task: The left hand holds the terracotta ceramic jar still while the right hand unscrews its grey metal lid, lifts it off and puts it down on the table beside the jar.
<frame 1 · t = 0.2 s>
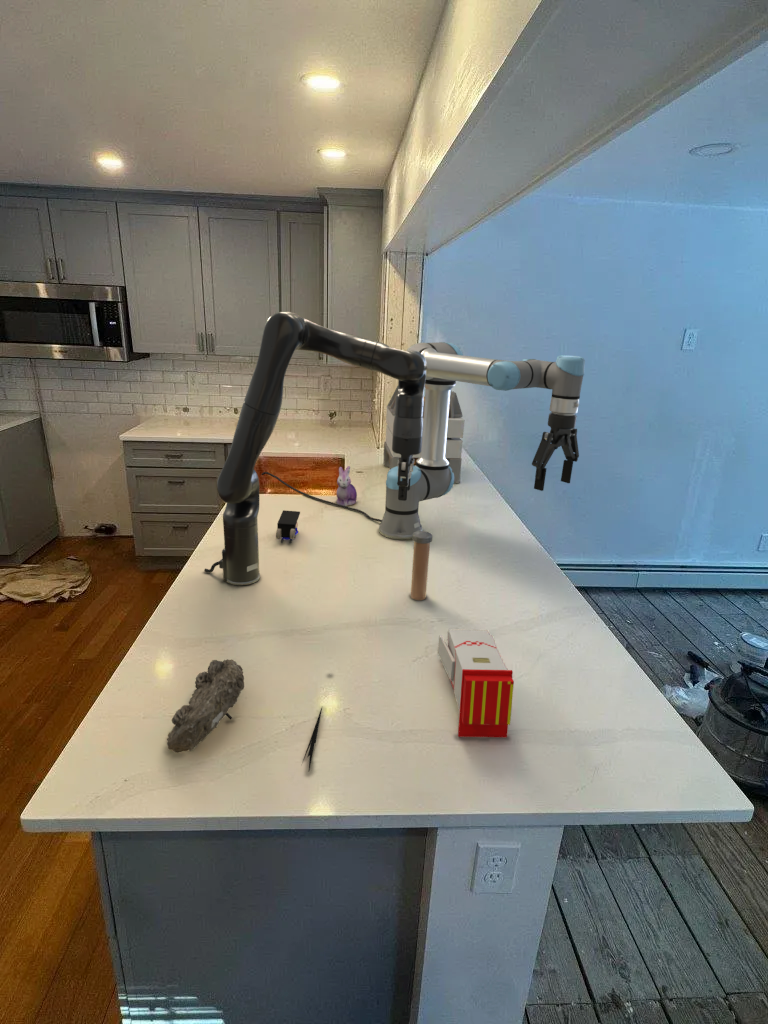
left hand: (404, 494, 148), 29 cm above the counter, tool pointing down, fingers open, 8 cm apart
right hand: (552, 485, 166), 28 cm above the counter, tool pointing down, fingers open, 13 cm apart
lid: (422, 535, 151), point 18 cm above the counter, screwed on, not yet turned
black wheeled rover: (288, 537, 192), on the counter
jar: (418, 596, 157), on the counter
figurine: (346, 503, 229), on the counter
toy: (469, 691, 119), on the counter
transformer: (419, 473, 275), on the counter
feather: (319, 719, 109), on the counter
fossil: (212, 717, 108), on the counter
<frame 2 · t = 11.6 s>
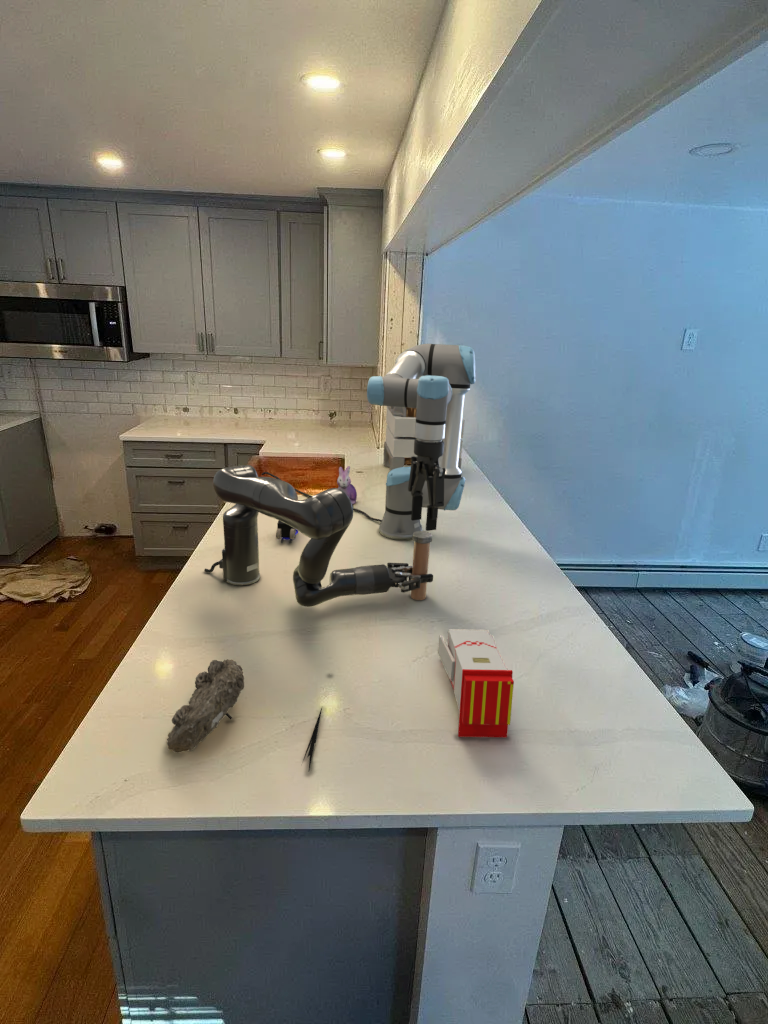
left hand: (428, 573, 156), 7 cm above the counter, tool horizontal, fingers closed on jar, 4 cm apart
right hand: (423, 524, 150), 21 cm above the counter, tool pointing down, fingers open, 7 cm apart
jar: (418, 596, 157), on the counter, touching left hand
everything else where it was.
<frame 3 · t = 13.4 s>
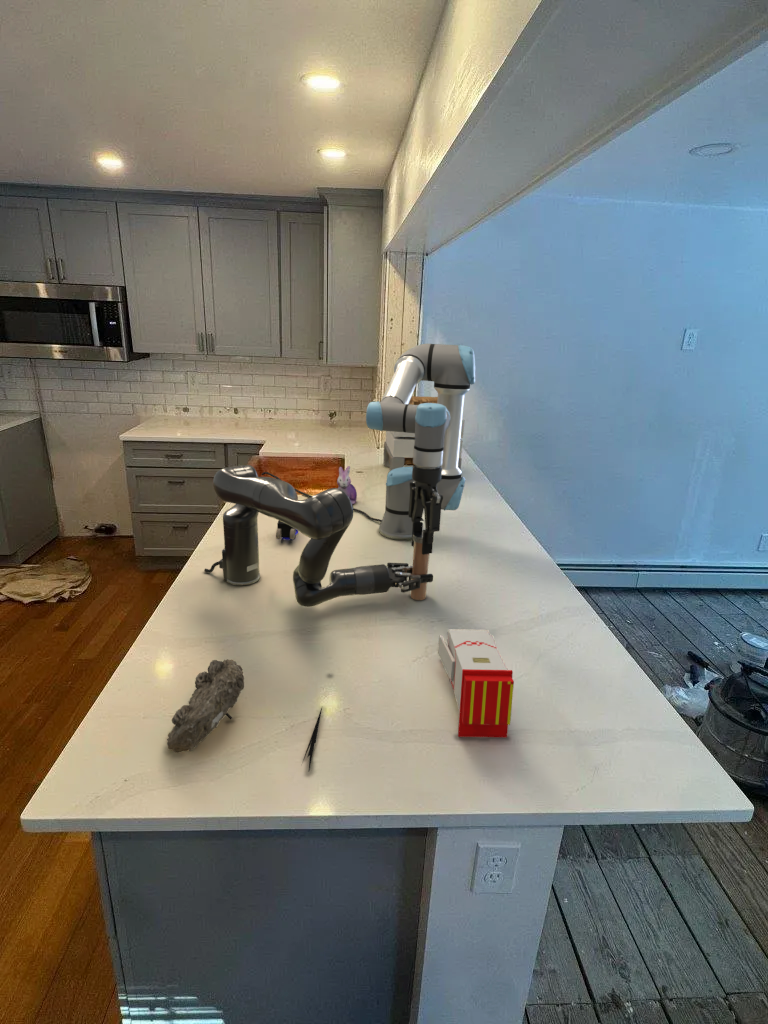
left hand: (428, 573, 156), 7 cm above the counter, tool horizontal, fingers closed on jar, 4 cm apart
right hand: (421, 549, 152), 14 cm above the counter, tool pointing down, fingers closed on lid, 5 cm apart
lid: (422, 535, 151), point 18 cm above the counter, screwed on, not yet turned, touching right hand
jar: (418, 596, 157), on the counter, touching left hand
everything else where it was.
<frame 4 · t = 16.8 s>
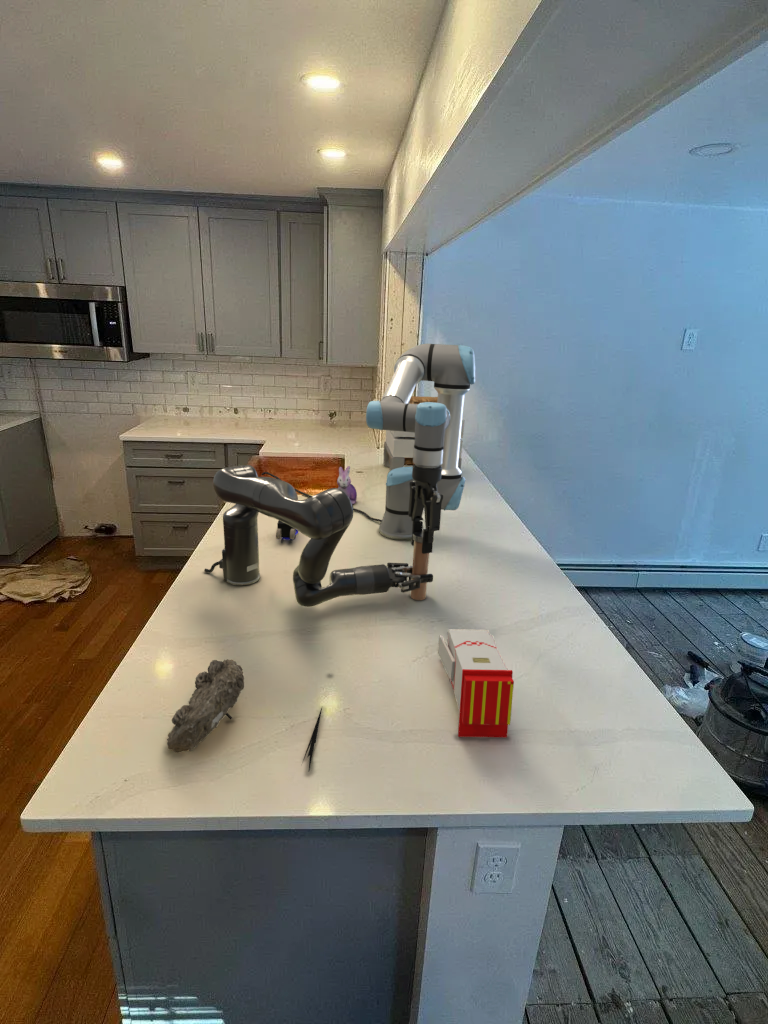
left hand: (428, 573, 156), 7 cm above the counter, tool horizontal, fingers closed on jar, 4 cm apart
right hand: (421, 548, 152), 15 cm above the counter, tool pointing down, fingers closed on lid, 5 cm apart
lid: (422, 534, 151), point 18 cm above the counter, turned 123° so far, risen 0.2 cm, still on its thread, touching right hand
jar: (418, 596, 157), on the counter, touching left hand
everything else where it was.
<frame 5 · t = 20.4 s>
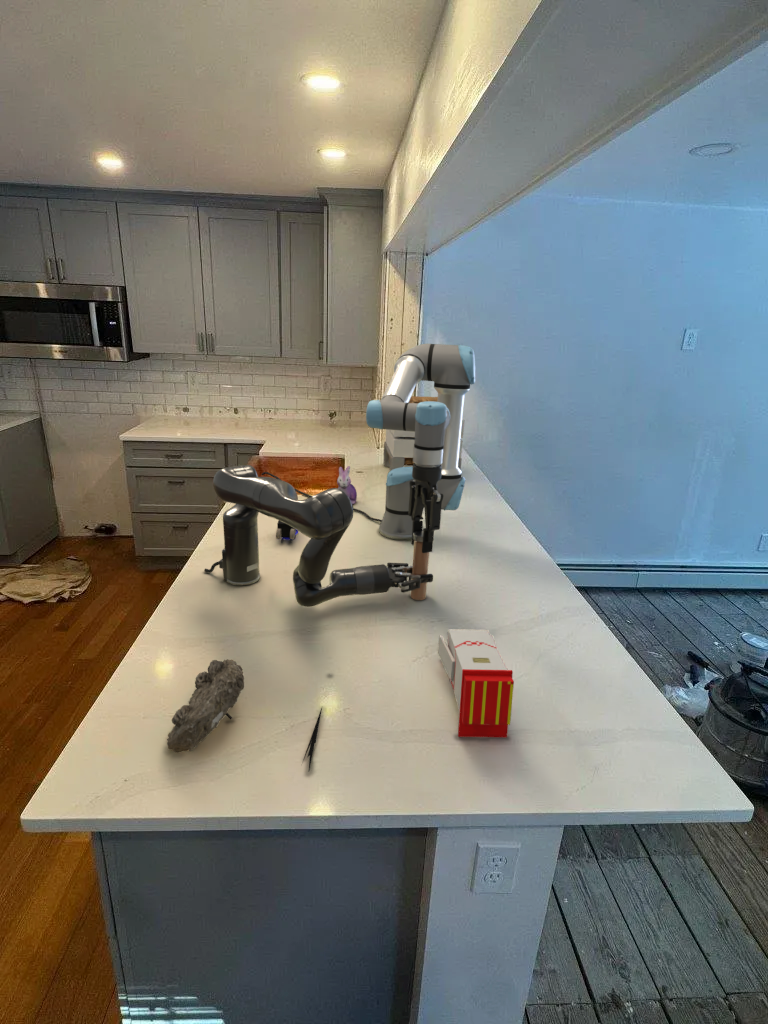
left hand: (428, 573, 156), 7 cm above the counter, tool horizontal, fingers closed on jar, 4 cm apart
right hand: (421, 547, 152), 15 cm above the counter, tool pointing down, fingers closed on lid, 5 cm apart
lid: (422, 534, 151), point 19 cm above the counter, turned 247° so far, risen 0.4 cm, still on its thread, touching right hand
jar: (418, 596, 157), on the counter, touching left hand
everything else where it was.
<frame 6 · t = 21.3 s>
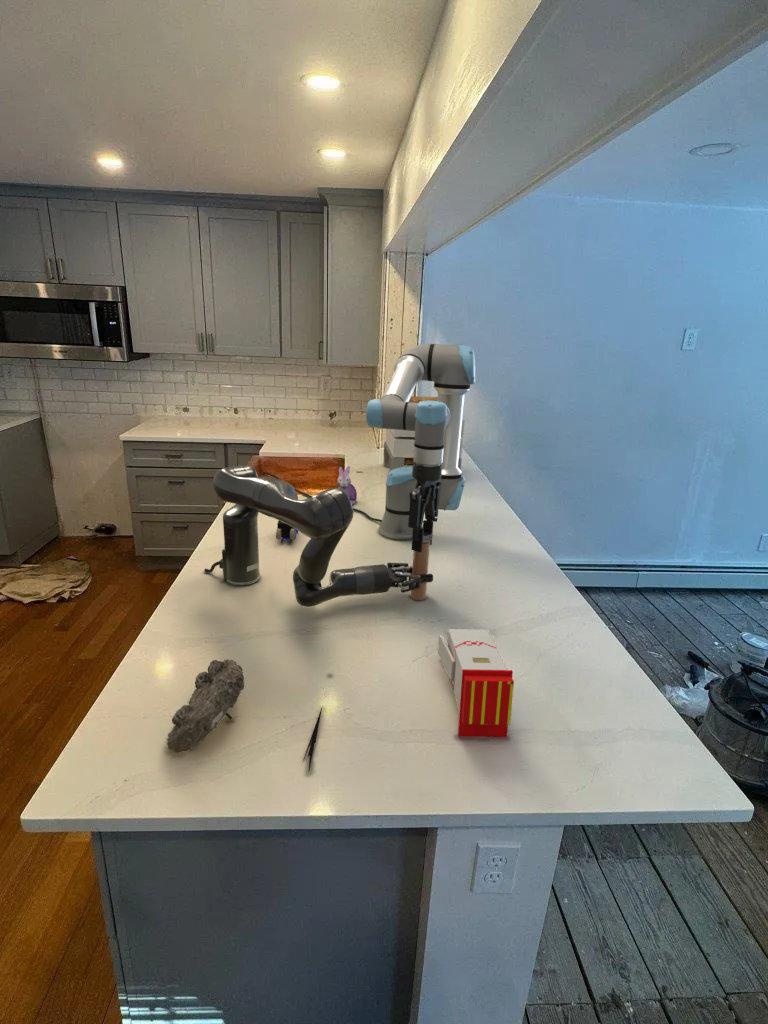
left hand: (428, 573, 156), 7 cm above the counter, tool horizontal, fingers closed on jar, 4 cm apart
right hand: (421, 547, 152), 15 cm above the counter, tool pointing down, fingers closed on lid, 5 cm apart
lid: (422, 533, 151), point 19 cm above the counter, off its thread, touching right hand
jar: (418, 596, 157), on the counter, touching left hand
everything else where it was.
when the right hand's fingers open (0 cm above the counter, at t = 27.6 s): lid drops 3 cm, point 1 cm above the counter.
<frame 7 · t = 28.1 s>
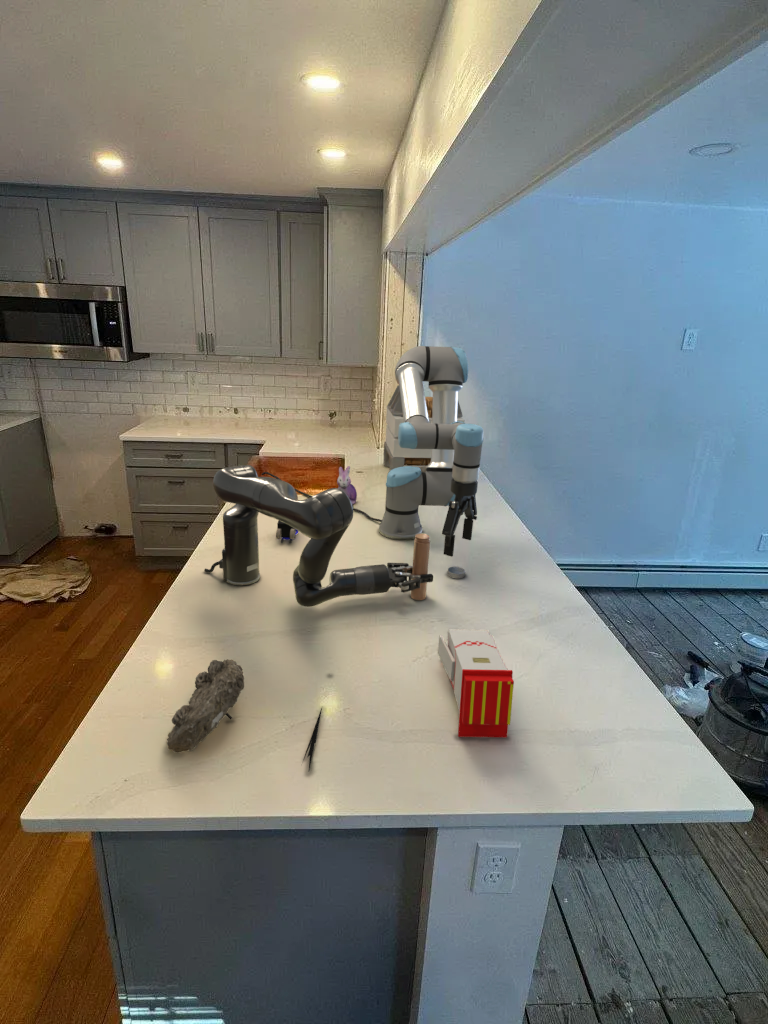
left hand: (428, 573, 156), 7 cm above the counter, tool horizontal, fingers closed on jar, 4 cm apart
right hand: (457, 546, 169), 9 cm above the counter, tool pointing down, fingers open, 13 cm apart
lid: (456, 571, 170), point 1 cm above the counter, off its thread
jar: (418, 596, 157), on the counter, touching left hand
everything else where it was.
when the left hand's fingers open (7 cm above the counter, at t = 28.3 s): jar stays where it is, on the counter.
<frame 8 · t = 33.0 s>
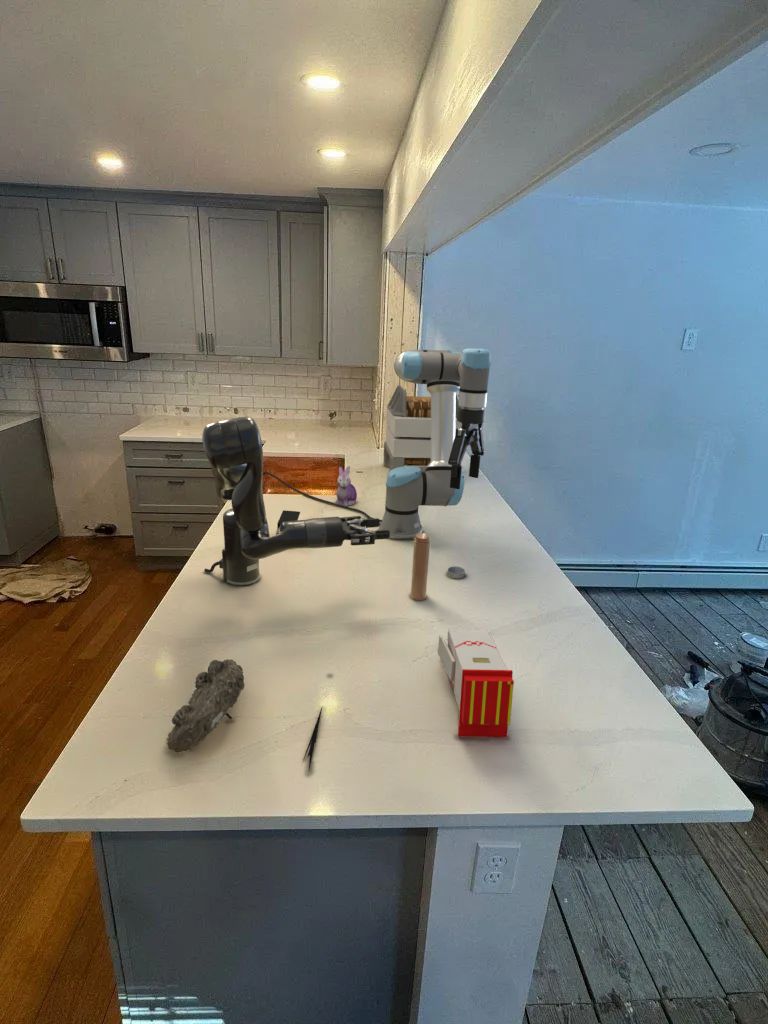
left hand: (384, 528, 146), 21 cm above the counter, tool horizontal, fingers open, 8 cm apart
right hand: (464, 482, 161), 29 cm above the counter, tool pointing down, fingers open, 13 cm apart
jar: (418, 596, 157), on the counter
everything else where it was.
at the end: lid came off its thread; lid point 1.2 cm above the counter; the left hand is holding nothing; the right hand is holding nothing; jar tilted 0°; jar moved 0.0 cm from its start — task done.
